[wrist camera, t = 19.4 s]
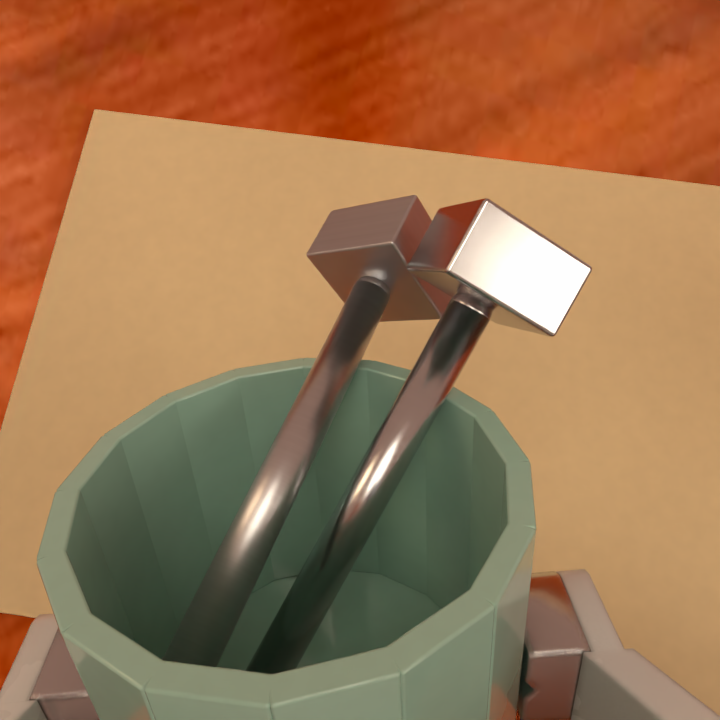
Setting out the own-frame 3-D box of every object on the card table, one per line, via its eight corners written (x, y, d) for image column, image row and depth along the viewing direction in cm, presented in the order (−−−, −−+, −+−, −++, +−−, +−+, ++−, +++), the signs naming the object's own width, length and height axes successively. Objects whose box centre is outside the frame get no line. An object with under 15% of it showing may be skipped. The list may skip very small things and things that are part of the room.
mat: (-44, 603, 20) (-52, 604, 20) (98, 115, 25) (94, 108, 24) (726, 726, 19) (733, 730, 19) (725, 192, 24) (731, 187, 23)
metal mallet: (189, 660, 11) (438, 206, 11) (290, 697, 12) (531, 265, 11) (183, 745, 9) (487, 196, 9) (305, 785, 10) (595, 267, 9)
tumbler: (122, 981, 11) (-89, 658, 7) (242, 651, 17) (171, 352, 12) (502, 1066, 10) (556, 746, 6) (496, 681, 16) (522, 364, 11)
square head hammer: (52, 690, 8) (330, 209, 12) (162, 728, 9) (381, 279, 14) (138, 753, 7) (416, 193, 11) (251, 784, 8) (464, 272, 12)
